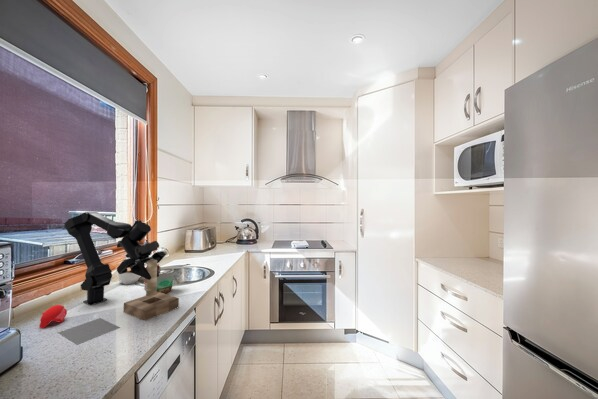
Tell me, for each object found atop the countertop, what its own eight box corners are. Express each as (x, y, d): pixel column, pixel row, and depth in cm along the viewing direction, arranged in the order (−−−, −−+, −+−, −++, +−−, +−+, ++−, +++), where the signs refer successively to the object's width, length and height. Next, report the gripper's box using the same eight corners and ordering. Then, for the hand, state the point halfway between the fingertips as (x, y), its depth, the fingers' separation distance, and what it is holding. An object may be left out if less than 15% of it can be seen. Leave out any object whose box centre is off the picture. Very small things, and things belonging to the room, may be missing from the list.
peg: (144, 296, 98) (145, 261, 98) (148, 292, 102) (148, 259, 102) (154, 295, 99) (155, 261, 99) (157, 292, 103) (158, 259, 103)
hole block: (123, 312, 98) (123, 302, 98) (157, 300, 110) (158, 291, 110) (144, 321, 91) (144, 310, 91) (178, 307, 104) (178, 298, 104)
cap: (56, 308, 93) (39, 306, 88) (71, 304, 93) (55, 301, 88) (49, 332, 89) (31, 330, 84) (65, 327, 89) (47, 325, 84)
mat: (57, 333, 82) (57, 332, 82) (99, 318, 93) (100, 317, 93) (77, 346, 76) (77, 344, 76) (120, 328, 86) (120, 327, 86)
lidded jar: (146, 280, 138) (146, 263, 138) (128, 286, 127) (129, 268, 127) (130, 278, 140) (130, 261, 140) (111, 284, 130) (112, 266, 130)
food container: (154, 298, 112) (155, 276, 113) (147, 295, 116) (147, 274, 116) (179, 290, 123) (180, 270, 123) (172, 288, 126) (173, 268, 126)
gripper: (123, 238, 93) (146, 271, 90) (162, 232, 111) (183, 259, 108) (106, 258, 95) (128, 290, 92) (148, 249, 113) (167, 275, 110)
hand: (154, 277), depth 100 cm, fingers closed on peg, 4 cm apart
